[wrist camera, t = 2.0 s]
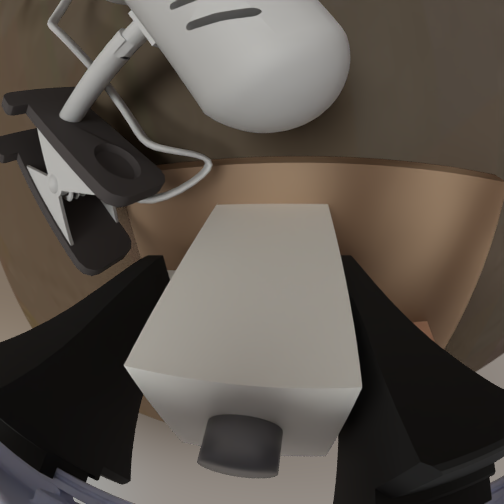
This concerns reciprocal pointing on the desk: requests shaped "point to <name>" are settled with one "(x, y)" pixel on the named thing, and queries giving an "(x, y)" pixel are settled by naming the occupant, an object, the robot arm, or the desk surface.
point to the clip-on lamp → (200, 86)
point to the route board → (352, 220)
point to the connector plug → (253, 340)
